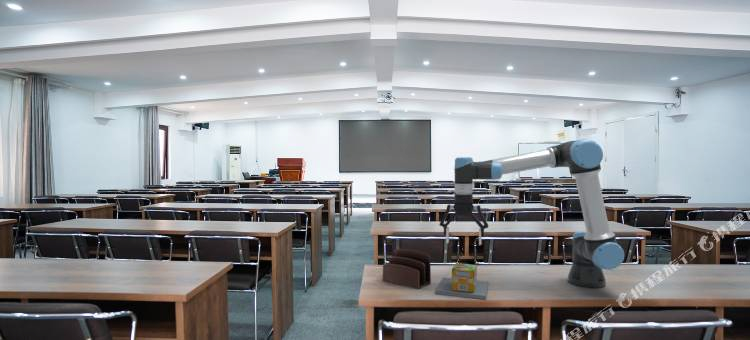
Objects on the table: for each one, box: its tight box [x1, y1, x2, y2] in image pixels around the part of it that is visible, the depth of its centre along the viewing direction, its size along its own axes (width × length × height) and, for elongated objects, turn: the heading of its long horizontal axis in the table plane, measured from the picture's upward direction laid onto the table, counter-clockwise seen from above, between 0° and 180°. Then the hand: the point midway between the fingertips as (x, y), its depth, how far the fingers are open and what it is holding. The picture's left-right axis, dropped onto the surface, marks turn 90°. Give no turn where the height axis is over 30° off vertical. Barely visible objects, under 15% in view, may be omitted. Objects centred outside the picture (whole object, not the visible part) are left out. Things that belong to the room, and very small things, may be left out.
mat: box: [434, 277, 489, 300], centre depth 171 cm, size 20×20×2 cm
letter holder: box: [382, 248, 432, 290], centre depth 181 cm, size 10×20×14 cm, turn 51°
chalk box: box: [451, 262, 478, 293], centre depth 170 cm, size 9×9×15 cm
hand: (463, 243), depth 171 cm, fingers open, 13 cm apart
